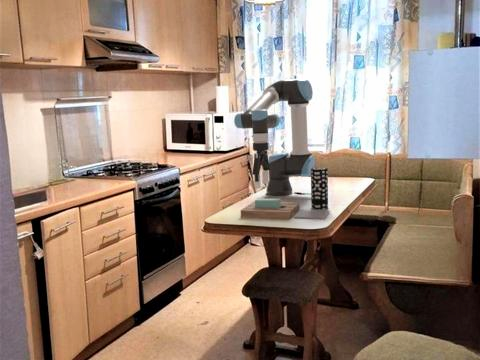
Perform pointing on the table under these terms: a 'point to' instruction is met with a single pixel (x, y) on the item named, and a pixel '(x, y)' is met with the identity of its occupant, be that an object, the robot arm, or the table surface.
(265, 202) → the teal bar
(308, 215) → the felt pad
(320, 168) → the spotted tube
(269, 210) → the pocket board
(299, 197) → the table surface
